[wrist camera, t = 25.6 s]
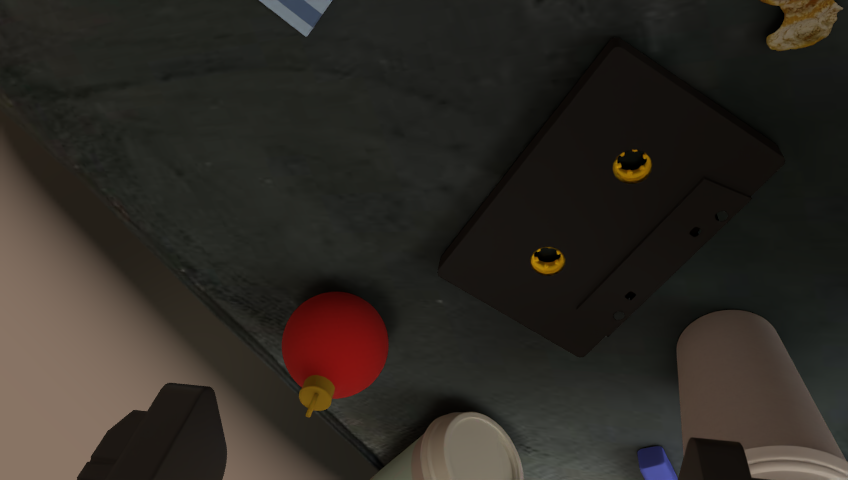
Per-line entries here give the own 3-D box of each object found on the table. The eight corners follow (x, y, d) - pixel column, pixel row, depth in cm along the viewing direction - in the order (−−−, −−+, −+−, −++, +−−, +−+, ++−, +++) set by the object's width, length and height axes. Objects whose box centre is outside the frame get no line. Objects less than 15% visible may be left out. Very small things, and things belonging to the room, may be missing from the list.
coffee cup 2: (752, 264, 47) (824, 451, 34) (833, 359, 50) (926, 562, 37) (623, 337, 51) (645, 525, 39) (704, 419, 54) (749, 619, 42)
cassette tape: (580, 340, 52) (581, 362, 50) (439, 257, 50) (434, 276, 48) (779, 145, 42) (789, 162, 41) (614, 33, 40) (616, 46, 39)
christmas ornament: (314, 256, 51) (268, 353, 43) (411, 294, 52) (383, 398, 44) (288, 328, 55) (240, 430, 47) (378, 363, 56) (347, 470, 47)
